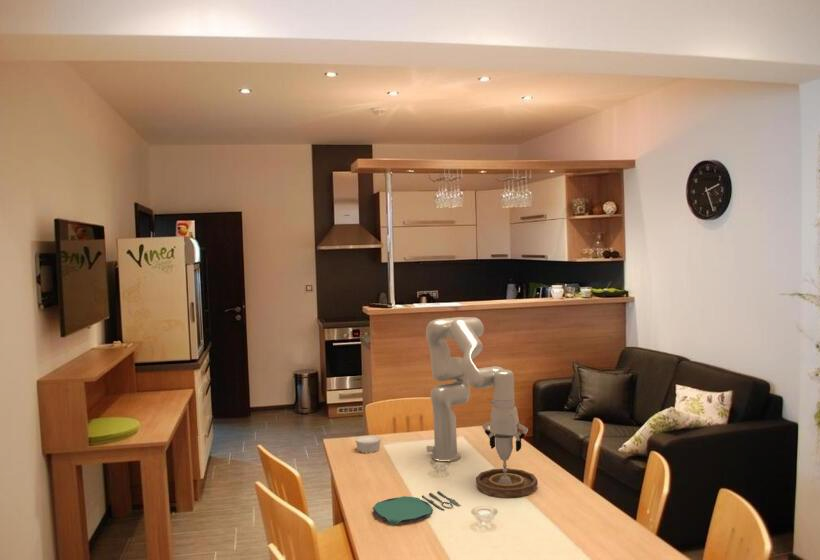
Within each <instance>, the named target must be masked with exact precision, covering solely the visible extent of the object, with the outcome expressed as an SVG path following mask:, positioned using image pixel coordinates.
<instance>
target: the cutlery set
mask: <svg viewBox="0 0 820 560" xmlns="http://www.w3.org/2000/svg"><path fill="white" fill-rule="evenodd" d="M436 494H437V495H439V496H440V497H442V498H444V499H445V498H446V500H447V501H449V502H447V501H442V500H441V499H440V498H439V497H438V496H436V495H435V494H434V493H432V492H429V494H428V495H429V496H431V497H433V498H434V499H436V500H437V501H439V502H440V503H441V506H442V507H441V506H440V505H438V504H437V503H435V501H434V500H433V499H429V498H427V496H424V494H423V495H421V498H424V499H426V500H427V501H428V502H429V503H428V502H427V501H425V500H424V499H420V497H415V496H404V495H403V496H400V497H394V498H393V497H391V498H387V499H385V500H381V501H378V502H376V503H375V504H374V506H373V507H372V510H373V513H374V514H375V516H376V517H378V518H380V519H381V520H385V521H387V522H388V523H389V524H390V525H392V526H397V525H398V524H400V523H403V522H404V523H405V522H406V523H407V522H414V521H415V522H416V521H418V520H421V519H424V518H426V517H428V516H431V515H432V513H433V511H434V507H436V508H438V510H440V509H441V511H443V510H444V511H445V509H451V508H454V506H456V507H458V508H459V507H462V505H461V504H459V502H457V501H456V500H455V499H453V498H450V497H448V496H447V495H445V494H444V493H443V492H441V491H439V490H437V493H436ZM444 503H445V504H444ZM449 504H450V507H448V506H445V505H449ZM431 505H433V506H434V507H432V506H431ZM444 508H445V509H444Z"/></svg>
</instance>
